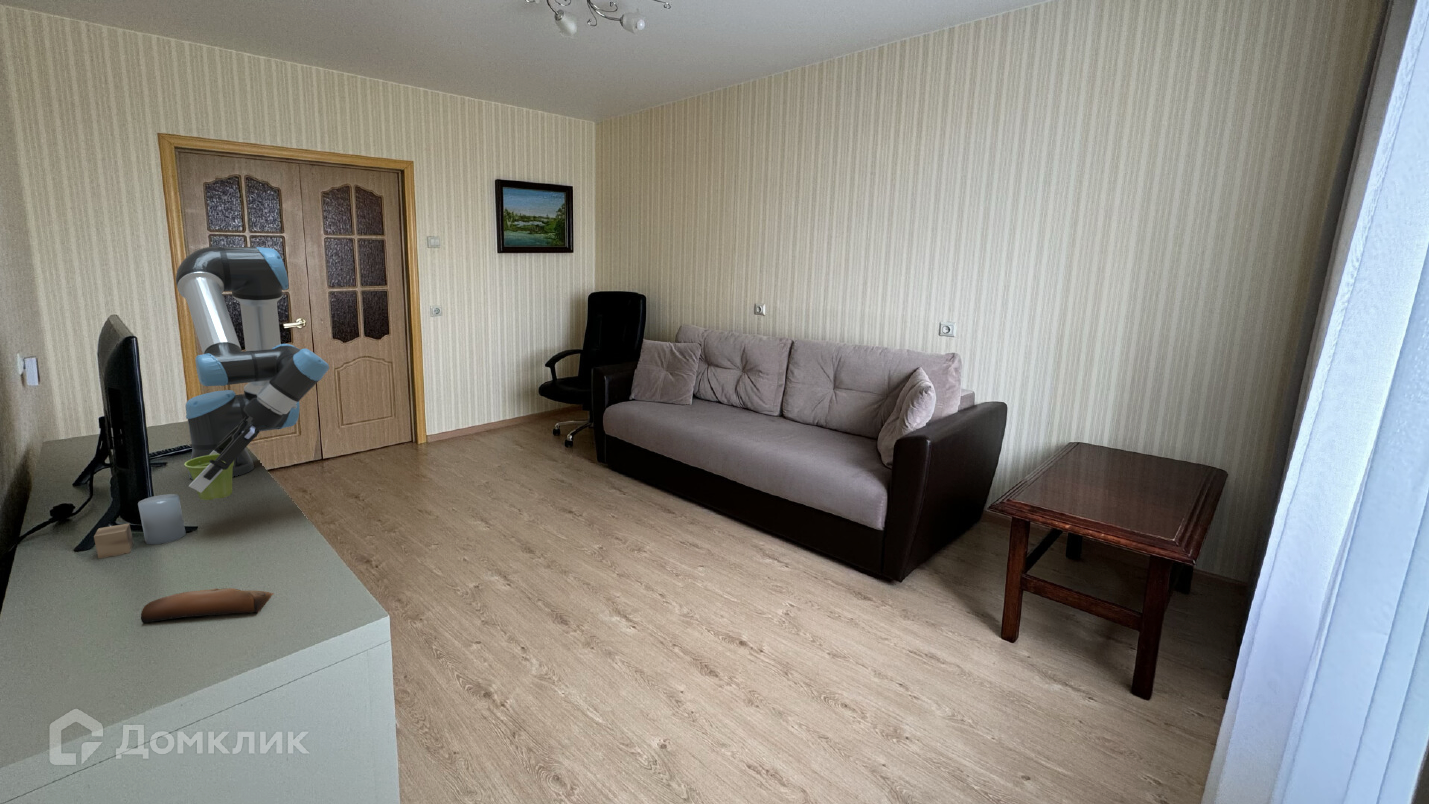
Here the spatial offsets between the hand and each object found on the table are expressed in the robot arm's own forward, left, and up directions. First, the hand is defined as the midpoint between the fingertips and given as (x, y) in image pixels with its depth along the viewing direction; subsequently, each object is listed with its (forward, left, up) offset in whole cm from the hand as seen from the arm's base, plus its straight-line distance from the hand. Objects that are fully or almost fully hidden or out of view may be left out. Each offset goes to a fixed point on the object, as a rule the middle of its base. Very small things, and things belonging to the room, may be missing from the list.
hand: (196, 482), depth 150 cm
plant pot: (0, +3, -4) cm, 5 cm away
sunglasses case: (+44, +3, -12) cm, 45 cm away
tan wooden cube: (+4, -15, -12) cm, 19 cm away
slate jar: (+1, -7, -11) cm, 13 cm away
